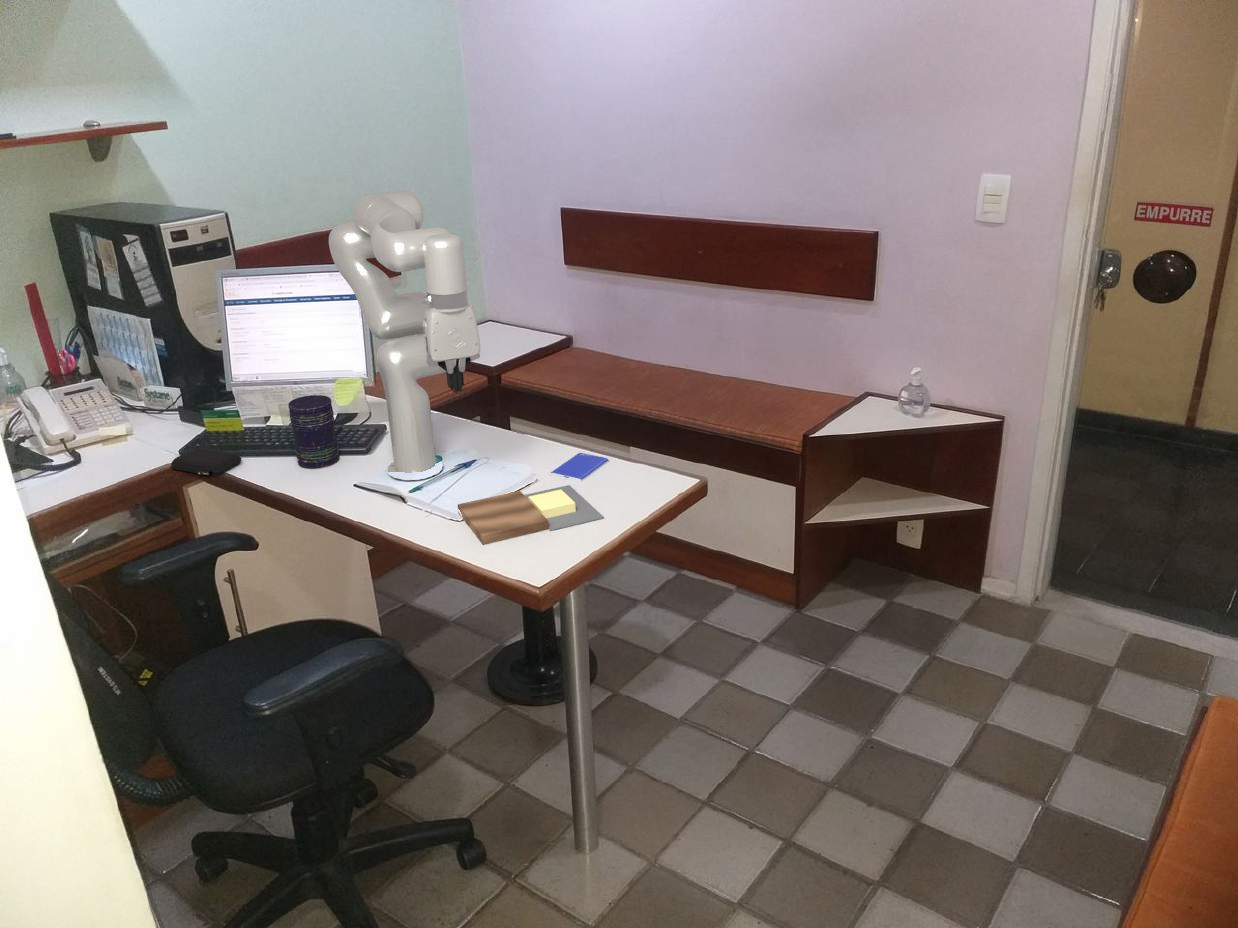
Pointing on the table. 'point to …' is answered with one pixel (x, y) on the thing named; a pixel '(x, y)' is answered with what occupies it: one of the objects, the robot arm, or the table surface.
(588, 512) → the mat
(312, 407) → the storage jar
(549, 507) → the sticky pad
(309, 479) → the table surface
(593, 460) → the hard drive
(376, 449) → the table surface
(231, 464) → the carrying case or bag
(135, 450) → the table surface
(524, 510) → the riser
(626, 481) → the table surface
